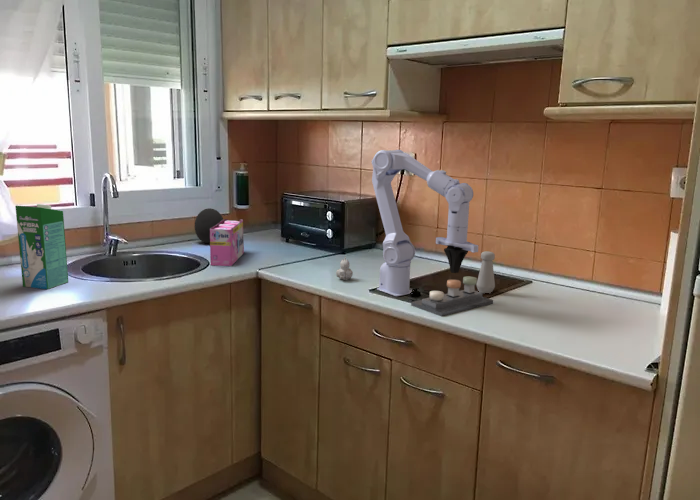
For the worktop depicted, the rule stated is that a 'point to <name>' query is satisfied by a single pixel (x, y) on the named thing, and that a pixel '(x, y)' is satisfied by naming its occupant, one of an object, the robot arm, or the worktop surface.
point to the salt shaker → (486, 273)
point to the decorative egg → (206, 223)
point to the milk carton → (42, 246)
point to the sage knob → (469, 284)
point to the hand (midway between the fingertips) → (454, 272)
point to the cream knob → (436, 295)
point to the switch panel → (453, 303)
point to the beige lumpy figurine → (344, 270)
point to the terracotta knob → (453, 287)
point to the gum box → (226, 242)
